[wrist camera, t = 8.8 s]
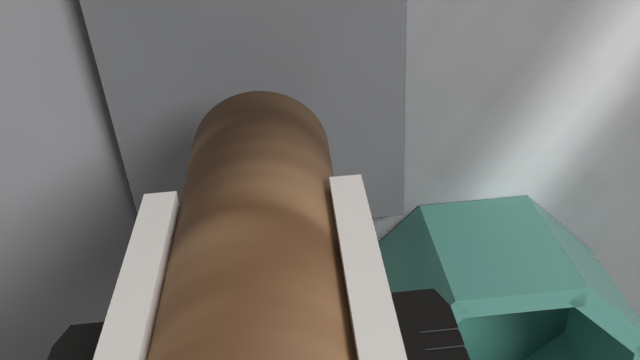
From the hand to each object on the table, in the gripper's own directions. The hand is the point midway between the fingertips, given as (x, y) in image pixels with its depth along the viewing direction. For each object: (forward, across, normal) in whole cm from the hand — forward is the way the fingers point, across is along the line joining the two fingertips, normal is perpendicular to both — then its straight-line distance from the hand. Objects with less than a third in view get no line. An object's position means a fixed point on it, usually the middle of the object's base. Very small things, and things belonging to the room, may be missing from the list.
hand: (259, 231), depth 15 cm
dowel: (+4, 0, 0) cm, 4 cm away
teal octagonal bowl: (+8, +8, -10) cm, 15 cm away
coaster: (+8, 0, 0) cm, 8 cm away
